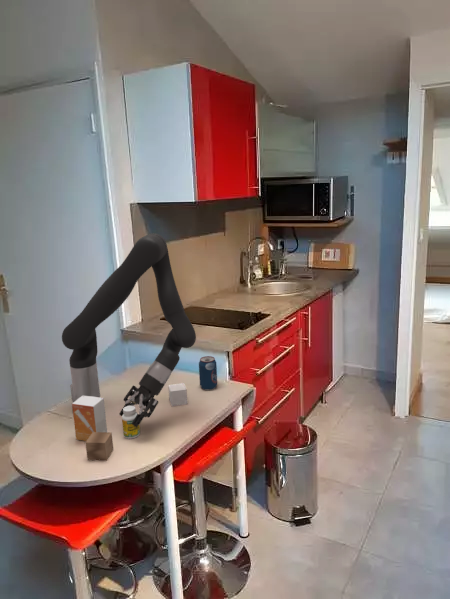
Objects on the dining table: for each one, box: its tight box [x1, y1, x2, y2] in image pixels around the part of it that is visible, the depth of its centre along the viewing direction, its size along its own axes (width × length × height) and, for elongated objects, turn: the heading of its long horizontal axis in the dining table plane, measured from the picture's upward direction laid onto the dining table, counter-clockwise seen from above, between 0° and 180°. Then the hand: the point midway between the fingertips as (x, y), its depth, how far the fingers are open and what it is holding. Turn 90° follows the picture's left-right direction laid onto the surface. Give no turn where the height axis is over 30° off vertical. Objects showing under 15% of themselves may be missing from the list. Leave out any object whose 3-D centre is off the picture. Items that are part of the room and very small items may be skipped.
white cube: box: [168, 382, 188, 407], centre depth 178 cm, size 6×6×6 cm
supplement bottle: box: [121, 405, 141, 440], centre depth 156 cm, size 5×5×10 cm
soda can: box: [198, 355, 218, 391], centre depth 189 cm, size 7×7×12 cm
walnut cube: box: [84, 431, 114, 462], centre depth 146 cm, size 6×6×6 cm
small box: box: [71, 396, 108, 442], centre depth 155 cm, size 8×6×13 cm
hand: (127, 420), depth 155 cm, fingers open, 8 cm apart
